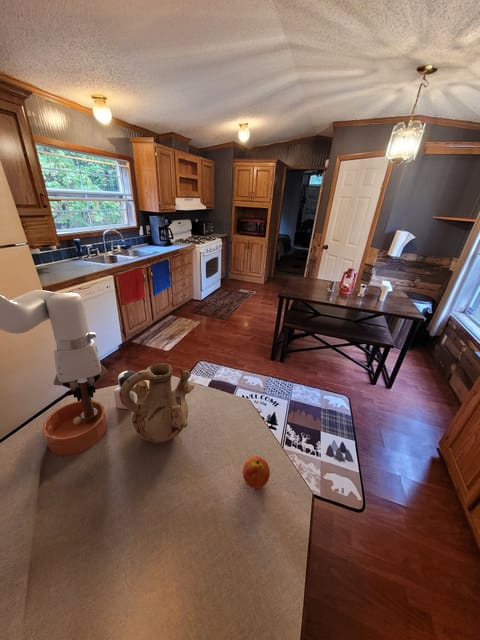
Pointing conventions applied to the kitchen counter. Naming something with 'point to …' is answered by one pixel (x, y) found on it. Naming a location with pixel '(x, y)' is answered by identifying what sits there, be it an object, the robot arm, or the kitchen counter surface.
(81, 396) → the pestle
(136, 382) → the ceramic vessel
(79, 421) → the dumpling
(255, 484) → the fruit
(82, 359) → the robot arm
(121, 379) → the medicine bottle
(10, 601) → the kitchen counter surface
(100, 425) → the bowl
